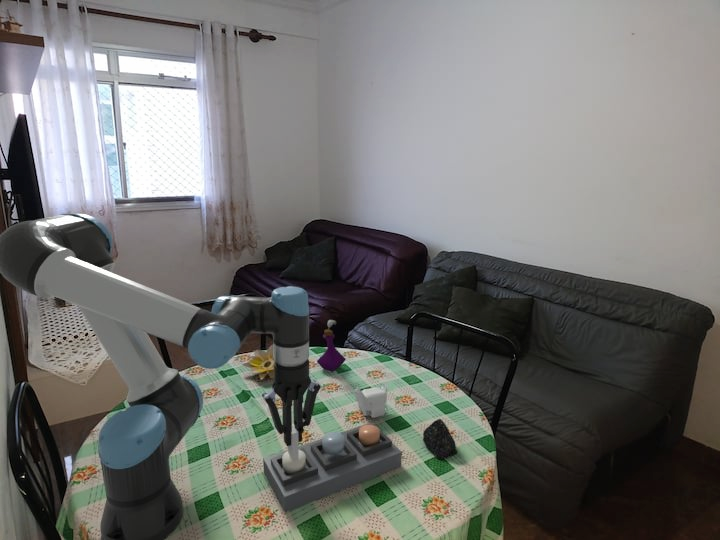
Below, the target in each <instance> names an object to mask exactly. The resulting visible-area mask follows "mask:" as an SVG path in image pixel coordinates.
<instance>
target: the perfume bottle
mask: <svg viewBox="0 0 720 540" xmlns="http://www.w3.org/2000/svg"><path fill="white" fill-rule="evenodd" d="M336 324H337V321H336V320H333V319H329V320H327V324H326V325H327V327H328V328H327V329H324V332H323V333H324V334H323V335H322V337H323V339H324V340H326V343H327V347H326V350H325V351H324V352H323V354H322V355H321V356H320V357H319V358H318V359H317V360H316V363H317V364H318V365H319V366H320V367H321V368H322V370H324V371H328V372H331V373H334V372H336V371H337V370H338V369H340V368H341V367H342V365H343V364H344V363H345V361H346V360H347V359H346V357H344V355H342V354H341V352H339V350H338V349H337V348H336V347H335V345H334V342H333V340H334V338H335V334H333V333H334V332H333V330H331V329H330V328H331V327H332V326H333V325H334V326H335V325H336Z"/></svg>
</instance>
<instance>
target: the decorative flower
mask: <svg viewBox="0 0 720 540" xmlns="http://www.w3.org/2000/svg"><path fill="white" fill-rule="evenodd" d="M253 355H254V356H251V357H250V359H249V360H248V361H247V362H244V363H242V364H241V365H240V366H241V367H244V368H247V369H249V370H250V372H252V373H255V374H258V377H259V378H260V380H263V379H264V378H265V377H266V376H269V378H271V379H273V380H274V361H275V360H274V358H273V344H271V345H270V346H269V347H267V350H266V351H264V350H261V349H256V350H255V351H254V354H253Z"/></svg>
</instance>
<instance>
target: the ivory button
mask: <svg viewBox="0 0 720 540" xmlns="http://www.w3.org/2000/svg"><path fill="white" fill-rule="evenodd" d="M286 451H287V450H286ZM282 464H283V470H284V471H285V472H286V473H288V474H294V473H297V472H300V471H302V470H304V469H305V467H306V456H305V453H304V452H303V451H301V450H299V458H296V459H293V460H292V458H291V457H290V455H289V453H288V451H287V452H285V453H284V454H283V456H282Z"/></svg>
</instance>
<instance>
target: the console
mask: <svg viewBox="0 0 720 540" xmlns="http://www.w3.org/2000/svg"><path fill="white" fill-rule="evenodd" d="M364 425H374V426H376V427H378V426H377V425H376V424H374V423H373V422H369V423H366V424H363V425H360V426H357V427H354V428H351V429H350V428H349V429H347V430H344V431H341V432H340V433H341V434H342V435H343V436H344V450H343V452H342V453H340V454H337V455H329V454H326V453H325V452H324V451H323V449H322V438H320V439H318V440H314V441H311V442H308V443H305V444H302V445H299V450H301V451H303V452H304V453H305V456H306V467H305V469H304V470H302V471H300V472H297V473H294V474H288V473H286V472H285V471H284V470H283V464H282V456H283V454H284V453H285V452H287V451H288V449H286V450H285V451H280V452H278V453H275V454H272V455H269V456H266V457H264V458H262V461H263V462H262V464H263V474H264V476H265V478H266V479H267V482H268V483H269V485H270V487H271V489H272V491H273V493H274V494H275V496H276V499H277V500H278V502H279V504H280V506H281V508H282V509H283V512H284V514H285V513H288V512H291V511H293V510H297V509H299V508H300V507H304V506H306V505H309V504H311V503H314V502H316V501H317V500H320V499H324V498H325V497H327V496H328V497H329V496H330V495H333V494H336V493H337V492H340V491H344V490H345V489H348V488H351V487H353V486H355V485H357V484H361V483H363V482H365V481H368V480H370V479H372V478H375V477H377V476H380V475H383V474H385V473H388V472H390V471H392V470H395V469H397V468H400V467H402V455H403V454H402V451H401V450H400V449H399V448H398V447H397V446H396V445H395V444H394V443H393V440H392V439H390V438H389V437H388V435H386V434H385V433H384V432H383V431H382V430H381V429H380V428H379V430H380V441H379V443H377V444H375V445H372V446H364V445H362V444H361V443H360V442H359V429H360V428H361V427H362V426H364Z"/></svg>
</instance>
